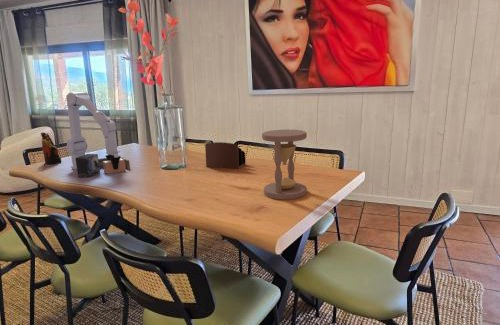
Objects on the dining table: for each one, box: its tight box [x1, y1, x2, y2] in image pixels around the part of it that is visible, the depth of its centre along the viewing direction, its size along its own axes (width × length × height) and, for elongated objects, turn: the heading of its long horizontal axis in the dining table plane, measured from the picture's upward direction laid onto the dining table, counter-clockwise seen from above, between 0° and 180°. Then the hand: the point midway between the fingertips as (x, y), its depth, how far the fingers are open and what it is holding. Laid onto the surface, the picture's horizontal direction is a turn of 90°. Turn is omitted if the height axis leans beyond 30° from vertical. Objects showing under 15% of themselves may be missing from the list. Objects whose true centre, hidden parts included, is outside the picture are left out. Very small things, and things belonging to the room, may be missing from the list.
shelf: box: [98, 155, 131, 170], centre depth 194 cm, size 17×14×5 cm
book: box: [102, 158, 126, 174], centre depth 188 cm, size 5×10×6 cm, turn 127°
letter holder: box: [204, 141, 247, 170], centre depth 188 cm, size 10×20×14 cm, turn 69°
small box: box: [75, 153, 101, 178], centre depth 182 cm, size 11×6×10 cm, turn 168°
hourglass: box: [261, 129, 308, 201], centre depth 138 cm, size 18×18×25 cm
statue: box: [40, 131, 62, 165], centre depth 214 cm, size 12×8×20 cm, turn 49°
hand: (114, 168), depth 188 cm, fingers closed on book, 5 cm apart
